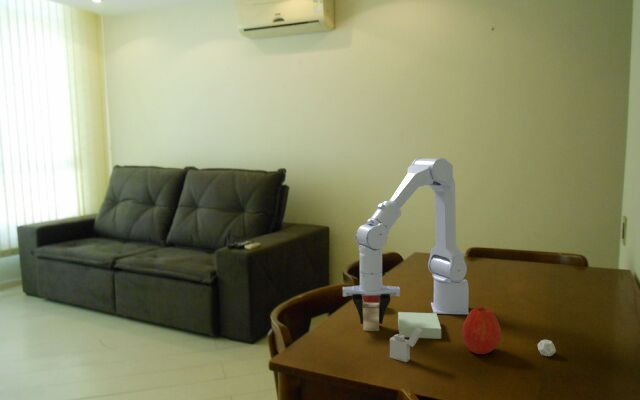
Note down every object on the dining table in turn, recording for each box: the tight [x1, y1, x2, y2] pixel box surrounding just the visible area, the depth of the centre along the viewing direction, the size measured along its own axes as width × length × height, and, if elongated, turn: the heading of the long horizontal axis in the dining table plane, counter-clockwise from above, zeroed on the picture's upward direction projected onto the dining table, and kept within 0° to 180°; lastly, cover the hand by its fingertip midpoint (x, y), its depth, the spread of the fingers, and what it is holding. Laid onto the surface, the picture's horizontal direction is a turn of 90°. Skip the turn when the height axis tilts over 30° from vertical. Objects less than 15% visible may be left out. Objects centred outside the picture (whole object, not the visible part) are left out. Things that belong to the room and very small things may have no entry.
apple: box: [462, 305, 502, 355], centre depth 99 cm, size 8×8×11 cm
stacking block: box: [397, 311, 442, 340], centre depth 113 cm, size 10×10×3 cm
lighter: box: [389, 326, 423, 363], centre depth 96 cm, size 7×2×8 cm, turn 54°
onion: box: [362, 295, 379, 303], centre depth 129 cm, size 6×6×8 cm
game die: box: [537, 338, 557, 357], centre depth 98 cm, size 4×4×3 cm
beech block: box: [362, 302, 380, 332], centre depth 114 cm, size 4×4×6 cm
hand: (371, 322), depth 114 cm, fingers closed on beech block, 4 cm apart
